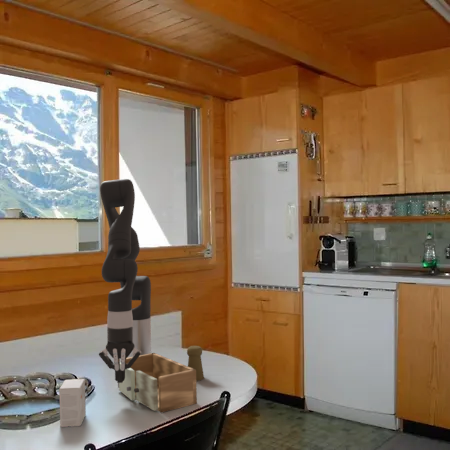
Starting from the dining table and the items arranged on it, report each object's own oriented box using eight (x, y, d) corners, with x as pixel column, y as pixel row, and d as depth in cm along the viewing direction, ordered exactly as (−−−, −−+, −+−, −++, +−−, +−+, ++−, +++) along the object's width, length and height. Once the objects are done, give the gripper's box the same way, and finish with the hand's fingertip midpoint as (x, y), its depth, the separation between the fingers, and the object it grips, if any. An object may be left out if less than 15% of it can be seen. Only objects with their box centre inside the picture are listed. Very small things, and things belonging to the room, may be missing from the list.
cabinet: (114, 391, 170) (113, 360, 170) (154, 382, 179) (154, 352, 179) (153, 414, 149) (152, 379, 149) (196, 403, 158) (196, 369, 158)
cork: (201, 381, 179) (200, 348, 179) (184, 380, 180) (183, 348, 180) (205, 376, 185) (205, 344, 185) (189, 375, 186) (188, 344, 186)
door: (115, 389, 170) (114, 362, 170) (121, 388, 171) (121, 361, 171) (128, 401, 159) (127, 371, 159) (135, 399, 160) (134, 370, 160)
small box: (65, 416, 150) (65, 379, 150) (86, 415, 150) (85, 378, 150) (59, 427, 142) (58, 388, 142) (80, 426, 142) (79, 387, 142)
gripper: (95, 327, 156) (95, 386, 157) (140, 327, 157) (140, 385, 157) (100, 322, 164) (100, 378, 164) (143, 322, 164) (143, 378, 165)
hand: (120, 382), depth 161 cm, fingers closed
